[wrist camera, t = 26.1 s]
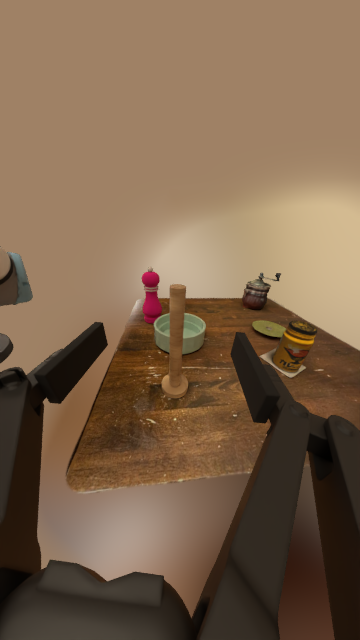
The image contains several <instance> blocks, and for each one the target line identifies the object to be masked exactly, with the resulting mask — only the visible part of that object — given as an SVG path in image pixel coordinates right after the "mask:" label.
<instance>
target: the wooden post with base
mask: <svg viewBox="0 0 360 640" xmlns="http://www.w3.org/2000/svg"><path fill="white" fill-rule="evenodd" d="M185 294H186V286H184V285H179V284H175V285H171V286H170V349H169V374H168V375H166V376H165V377H164V378H163V380H162V391H163V393H164V394H165V395H166V396H167V397H169V398H180V397H182V396H184V395H185V394H186V392H187V390H188V381H187V379H186V377H185V376H183V375H182V374H181V367H182V349H183V331H184V313H185Z"/></svg>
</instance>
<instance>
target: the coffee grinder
mask: <svg viewBox="0 0 360 640" xmlns="http://www.w3.org/2000/svg"><path fill="white" fill-rule="evenodd" d="M280 275H281V274H280V273H277V274H276V275H275V276H276V277H277V280H274V279H271V280H274V281H279V277H280ZM262 278H265V277H264V276H263V273H260V276H259V279H257V280H254V281H251V282H248V284H247V286H246V289H244V295H243V298H242V301H243V307H245V308H251V309H253V310H255V309H261V308H262V307H263V306H264V305H265V303H266V301H267V293H268V292H269V289H270V287H271V286H270V285H269V284H267V283H264V282H263V280H262ZM266 279H269V278H266Z"/></svg>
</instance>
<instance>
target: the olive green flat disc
mask: <svg viewBox="0 0 360 640" xmlns="http://www.w3.org/2000/svg"><path fill="white" fill-rule="evenodd" d="M252 325H253V327H254V328H255V329H256V330H257V331H259V332H261V333H263V334H266V335H269V336H273V337H282V335H283V332H284V331H285V330H286V329H285V328H284V327H282V326H280V325H278V324H276V323H273V322H269V321H255V322H253V324H252Z"/></svg>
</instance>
